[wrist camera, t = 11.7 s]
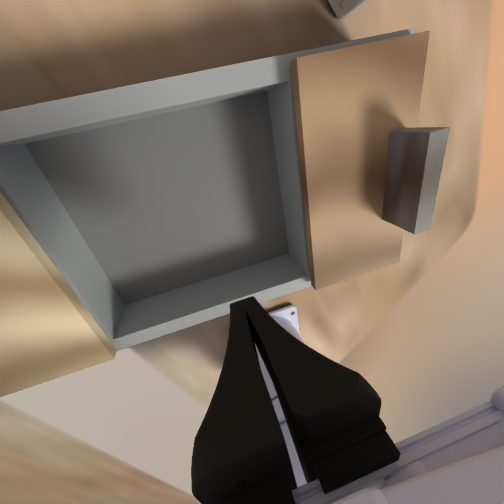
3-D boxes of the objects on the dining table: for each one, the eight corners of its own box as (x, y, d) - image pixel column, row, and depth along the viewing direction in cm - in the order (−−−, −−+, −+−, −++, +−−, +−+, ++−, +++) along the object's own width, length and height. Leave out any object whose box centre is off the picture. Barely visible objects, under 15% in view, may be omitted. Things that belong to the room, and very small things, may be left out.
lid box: (356, 237, 26) (390, 259, 22) (44, 336, 22) (10, 386, 18) (360, 51, 18) (415, 27, 14) (-126, 152, 14) (-262, 163, 10)
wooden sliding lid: (392, 257, 21) (429, 280, 18) (311, 284, 20) (335, 314, 17) (417, 35, 14) (488, 7, 10) (290, 61, 13) (326, 38, 10)
